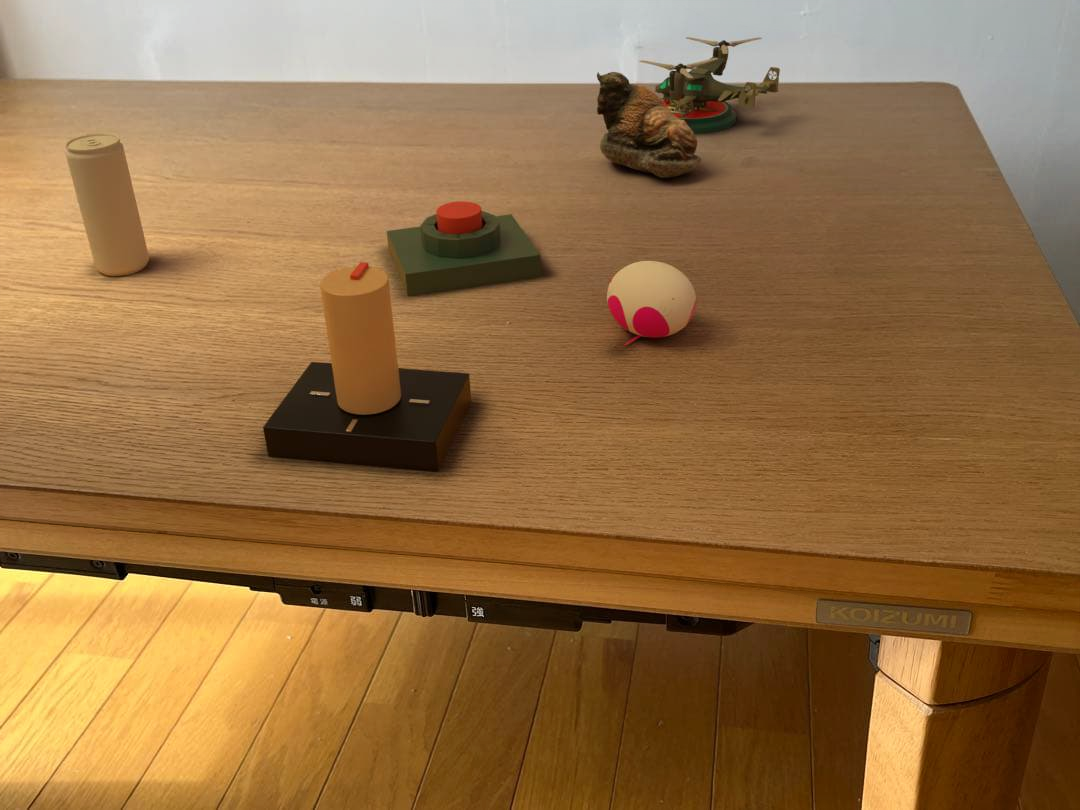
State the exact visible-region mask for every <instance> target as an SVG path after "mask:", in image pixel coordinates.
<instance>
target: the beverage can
mask: <svg viewBox="0 0 1080 810" xmlns="http://www.w3.org/2000/svg"><path fill="white" fill-rule="evenodd" d="M64 147H65V149H66V150H65V157H66V162H67V165H68V168H69V171H70V176H71V180H72V183H73V188H74V192H75V195H76V199H77V203H78V206H79V211H80V214H81V218H82V221H83V225H84V229H85V233H86V236H87V237H86V238H87V240H88V244H89V249H90V252H91V257H92V260H93V263H94V267H95V269H96V270H97V271H98V272H99V273H101V274H103V275H105V276H108V277H123V276H128V275H132V274H135V273H138V272H140V271H142V270H144V268H146V267H147V265H148V263H149V261H150V255H149V250H148V247H147V242H146V239H145V234H144V230H143V229H144V228H143V226H142V221H141V216H140V212H139V208H138V204H137V199H136V195H135V191H134V186H133V182H132V178H131V174H130V169H129V164H128V161H127V156H126V151H125V148H124V144H123V143H122V142H121V137H120V136H119V135H118V134H115V133H111V132H96V133H89V134H85V135H83V134H82V135H79V136H76V137H73V138H71V139H69V140H67V141H66V142H65V144H64Z"/></svg>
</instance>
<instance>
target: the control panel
mask: <svg viewBox="0 0 1080 810" xmlns="http://www.w3.org/2000/svg"><path fill="white" fill-rule="evenodd" d="M398 370H399V379H400V388H401V398H400V401H399V402H398V403H397V404H396V405H395V406H394V407H392V408H391V409H389V410H386V411H384V412H381V413H377V414H370V415H357V414H352V413H348V412H346V411H344V410H343V409H341V408H340V407H339V405H338V403H337V397H336V390H335V383H334V376H333V369H332V363H331V362H322V361H321V362H320V361H311V362H310V363H309V364H308V366H307V367H306V369H305V370H304V371H303V373H301V375H300V376H299V378H298V379H297V381H296V382H295V383H294V385H293V386H292V387H291V389H290V390H289V391H288V393H287V394H286V395H285V397H284V398H283V400H282V401H281V402H280V403H279V405H278V406H277V408H276V409H275V410H274V412H272V414H271V415H270V417H269V418H268V420H267V421H266V422H265V424H264V425H263V427H262V430H263V435H264V440H265V446H266V452H267V457H269V458H274V459H275V458H277V459H287V460H297V461H307V462H320V463H330V464H342V465H353V466H364V467H373V468H386V469H397V470H408V471H419V472H429V473H439V472H440V469H441V468H442V466H443V464H444V461H445V459H446V457H447V455H448V453H449V451H450V448H451V447H452V444H453V442H454V440H455V437H456V436H457V434H458V432H459V429H460V428H461V426H462V423H463V421H464V419H465V417H466V414H467V412H468V411H469V408H470V406H471V404H472V392H471V391H472V390H471V379H470V373H468V372H455V371H443V370H430V369H429V370H427V369H417V368H416V369H415V368H402V367H398Z"/></svg>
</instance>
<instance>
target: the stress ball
mask: <svg viewBox="0 0 1080 810" xmlns="http://www.w3.org/2000/svg"><path fill="white" fill-rule="evenodd" d="M606 278H607V277H606ZM607 280H608V281H609V285H608V287H607V290H606V291H607V292H606V302H607V308H608V310H609V312H610V314H611V316H612V318H613V319H614V320H615V321H616V322H617V324H619V326H621V327H622V328H623V329H625V330H626V331H628V332H630V333H632V334H634V335H635V336H634V337H633V338H631V340H629V341H628V342H626V343H625V344H624V345H622V346H621V347H620V349H622V348H623V347H625V346H627V345H629V344H630V343H632V342H634V341H636V340H638V339H639V338H641V337H644V338H653V339H658V338H665V337H668V336H672V335H674V334H676V333H678V332H680V331H681V330H683V329H684V328H685V327H687V325H688V324H689V323H690V322H691V320H692V319H693V316H694V314H695V313H696V308H697V295H696V290H695V288H694V286H693V284H692V282H691V280H690V279H689V278H688V277H687V276H686V275H685V274H684V273H683V272H682V271H681V270H679V269H678V268H677V267H675V266H673V265H671V264H668V263H665V262H661V261H658V260H641V261H636V262H633V263H630V264H627V265H626V266H624V267H623V268H621V269H620V270H619V271H618V272H616V274H615V275H614V276H613V277H612V278H611V279H609V278H607Z"/></svg>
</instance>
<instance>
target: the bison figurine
mask: <svg viewBox="0 0 1080 810" xmlns="http://www.w3.org/2000/svg"><path fill="white" fill-rule="evenodd" d="M596 78H597V80H598V82H599V86H600V87H599V91H598V95H597V99H596V100H597V107H596V114H597V115H598V116H600V115H602V117H603V121H604V124H605V128H606V130H607V132H606V133H604V134H603V136H602V138H601V140H600V143H599V149H600V151H601V154H603V156H604V157H605V159H606V160H608V161H610V162H612V163H614V164H618V165H621V166H624V167H627V168H630V169H632V170H635V171H639V172H642V173H643V172H644V173H648V174H651V175H655V177H657V178H662V179H668V178H675V177H679V176H682V175H685V174H686V173H689V172H692V171H693V170H695V169H697V168H698V167H699V166H700V164H701V161H702V159H701V157H700V156H699V155H696V154H695V153H696V151H697V147H698V140H697V136H696V134H694V132H693V131H692V129H691V128H689V126H688V125H687V123H686V122H685V121H684V120H681V119H678V118H677V117H676V116H675V115H674V114H673V113H672V112H671V111H670V110H669V109H668V108H667V107H666V106H665V105H664V103H663V102H662V101H661V100H660V99H661V98H660V97H659V96H658V95H657V94H656V92H653V91H651V89H649V88H647V87H646V86H644V85H642V84H639V83H638V84H633V83H630V80H629V79H628V78H627V77H626V76H625V75H624V74H622V73H620V72H617V71H610V72H607V73H605V74H600V72H599V71H597V74H596Z"/></svg>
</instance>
